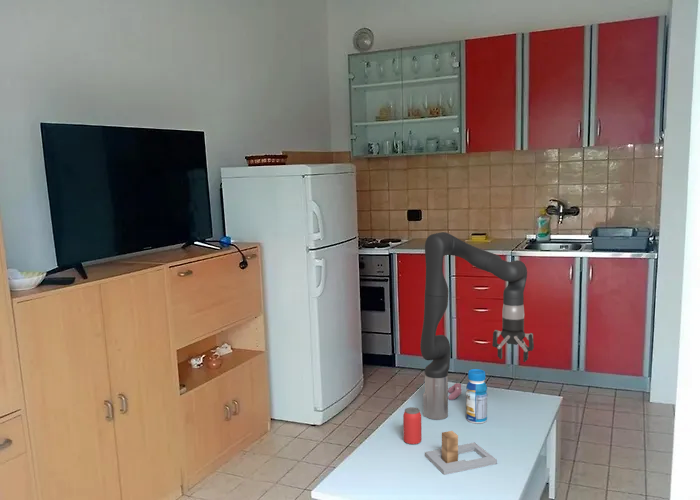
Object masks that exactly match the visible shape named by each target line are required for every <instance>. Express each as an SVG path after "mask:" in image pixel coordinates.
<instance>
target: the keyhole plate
mask: <svg viewBox="0 0 700 500" xmlns="http://www.w3.org/2000/svg"><path fill="white" fill-rule="evenodd" d="M470 452H475V453H476V454H477V455H479V457H480V458H479V457H478V458H474V459H469V460H466V459H461V460H458V461H455V462H450V463H445V462H444V461H443V460H442V448H439V449H433V450H427V451H424V457H425V458H426V459H427V460H428V462H430V463H431V464H432V465H433V466H434V467H435V468H436V469H437V470H439V472H441V474H442V475H444V476H445V475H449V474H454V473H455V474H456V473H460V472H464V471H469V470H474V469H478V468H483V467H489V466H493V465H497V464H498V463H497V462H498V460H497V458H495V457H494V456H493V455H491V454H490V453H489V452H487V451H486V450H485V449H484V448H482V447H481V446H480V445H479V444H478V443H476V442H469V443H463V444H458V455H460V454H465V453H470Z"/></svg>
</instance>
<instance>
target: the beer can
mask: <svg viewBox="0 0 700 500" xmlns="http://www.w3.org/2000/svg"><path fill="white" fill-rule="evenodd" d="M402 417H403V419H402V421H403V430H402V431H403V441H404V442H405V443H406V444H408V445H418V444H420V443H421V442H422V414H421V410H420V409H419V408H418V407H414V406H413V407H412V406H410V407H406V408H405V409H404V412H403V416H402Z"/></svg>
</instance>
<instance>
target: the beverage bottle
mask: <svg viewBox="0 0 700 500" xmlns="http://www.w3.org/2000/svg"><path fill="white" fill-rule="evenodd" d="M467 379H468V382H467V384H466V392H465V398H466V399H465V401H466V402H465V405H466V407H465V408H466V411H465V413H466V415H465V416H466V417H465V418H466V421H468V422H469V423H472V424H477V425H478V424H483V423H486V422H487V420H488V395H489V394H488V387H487V384H486V382H485V380H486V371H485V370H483V369H479V368H474V369H473V368H472V369H469V370H468V372H467Z"/></svg>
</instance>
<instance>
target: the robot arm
mask: <svg viewBox="0 0 700 500" xmlns="http://www.w3.org/2000/svg"><path fill="white" fill-rule="evenodd" d="M444 256H453V257H459V258H461V259H463V260H465V261H466V262H467V263H469V264H470V265H472V266H474V267H475V268H477V269H480V270H482V271H484V272H487V273H490V274H492V275H493V276H494V277H497V278H498V279H500V280H502V281H504V282H507V286H506V287H505V288H504V289H503V292H502V293H503V298H502V299H503V301H502V304H503V305H502V313H501V314H502V321H501V322H502V325H501V326H502V328H501V331H500V330H498V329H494V331H493V332H492V347H493V348H497V358H499V360H502V359H503V346H504V345H505V344H506V343H507V345H516V346H517V345H519V347H520V348H521V350H523V356H522V358H523V361H522V362H523V363H526V362H527V361H528V359H529V352H533V351H534V348H535V345H534V344H535V343H534V333H533V332H530V333H526V332H525V306H524V296H525V295H524V291H525V288H526V284H527V279H528V278H527V277H528V270H527V269H528V268H527V265H526V263H524V262H523V261H522V260H513V261H507V260H504V259H502V257H501V256H500V255H498V254H495V253H493V252H490V251H487V250H484V249H482V248H478V247H476V246H474V245H472V244H469V243H466V242H465V241H463V240H461V239H460V238H458V237H456V236H454V235H453V234H451V233H449V232H446V231H445V232H444V231H441V232H436V233H431V234H430V235H428V236H427V238H426V240H425V243H424V257H425V285H424V299H423V300H424V304H423V305H424V309H423V320H422V321H423V322H422V330H421V337H420V343H419V344H420V346H419V347H420V354H421V356H422V358H423V359H424V360H426V361H431V362H430V363H429V364H428V365H426V367H425V368H424V392H423V394H422V395H423V396H422V397H423V400H422V401H423V405H422V406H423V408H422V411H423V417H426V418H428V419H429V420H436V421H437V420H439V421H440V420H445V419H446V418H448V416H449V399H448V396H449V392H448V389H449V375H448V374H449V370H450V366H451V365H450V364H451V344H450V340H449V338H448V337H447V336H446V335H444V334H437V329H438V326H439V324H440V322H441V320H442V319H443V317H444V315H445V313H446V311H447V309H448V305H449V286H448V283H447V281H446V279H445V276H444V272H443V263H444ZM500 335H501V337H502V338H503V339H502V340H501V342H500V343H498V339H499V337H500ZM525 338H526V340H528V345H527V344H526V342H525V340H524V339H525Z"/></svg>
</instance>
